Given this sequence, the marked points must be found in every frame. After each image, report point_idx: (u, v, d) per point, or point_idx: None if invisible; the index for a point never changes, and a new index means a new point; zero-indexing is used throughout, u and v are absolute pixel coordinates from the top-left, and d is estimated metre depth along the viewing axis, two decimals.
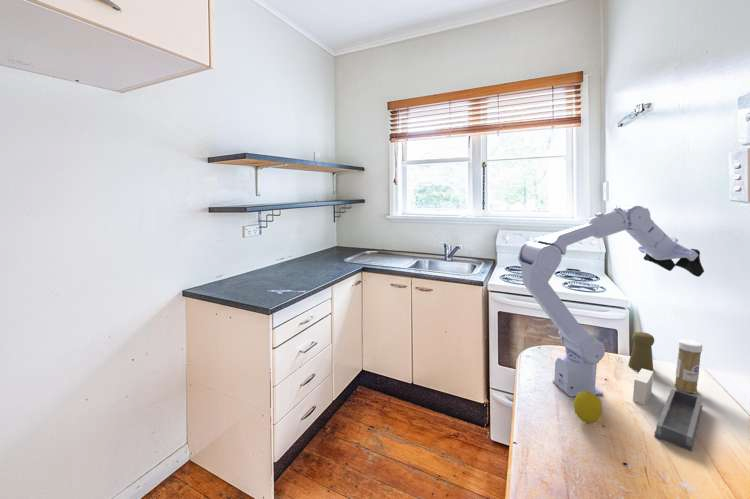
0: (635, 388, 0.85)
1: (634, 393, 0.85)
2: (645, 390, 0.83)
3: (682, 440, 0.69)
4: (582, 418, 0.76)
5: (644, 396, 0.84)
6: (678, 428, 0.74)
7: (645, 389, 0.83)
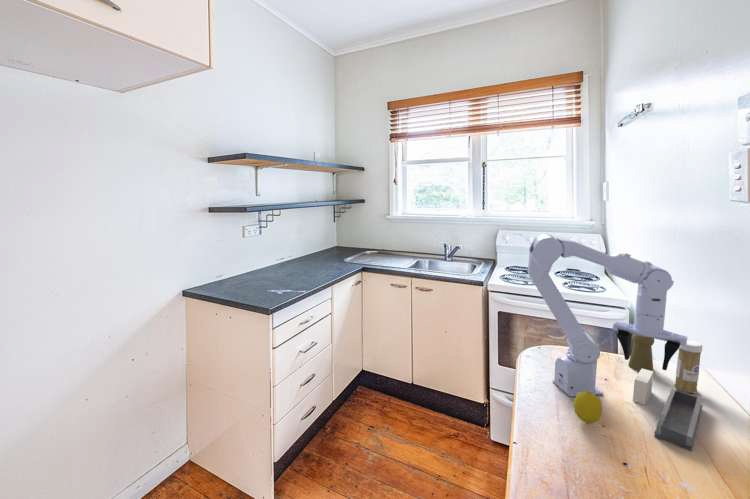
0: (635, 388, 0.85)
1: (634, 393, 0.85)
2: (645, 390, 0.83)
3: (682, 440, 0.69)
4: (582, 418, 0.76)
5: (644, 396, 0.84)
6: (678, 428, 0.74)
7: (645, 389, 0.83)
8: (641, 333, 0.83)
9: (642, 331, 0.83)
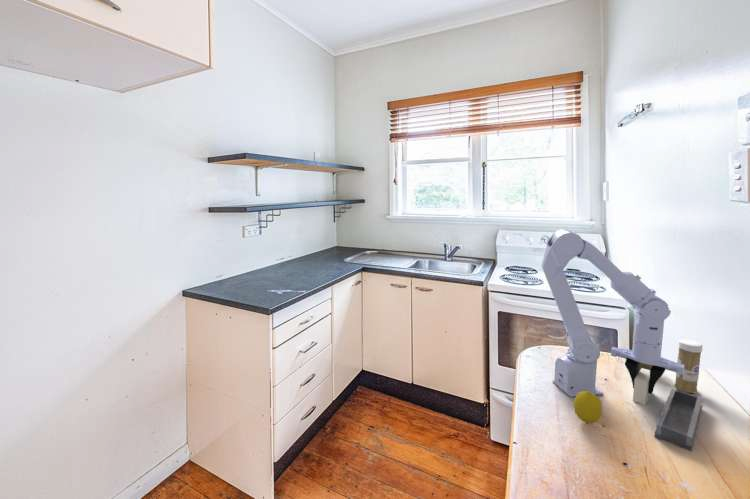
0: (635, 388, 0.85)
1: (634, 393, 0.85)
2: (645, 390, 0.83)
3: (682, 440, 0.69)
4: (582, 418, 0.76)
5: (644, 396, 0.84)
6: (678, 428, 0.74)
7: (645, 389, 0.83)
8: (639, 360, 0.84)
9: (640, 358, 0.84)
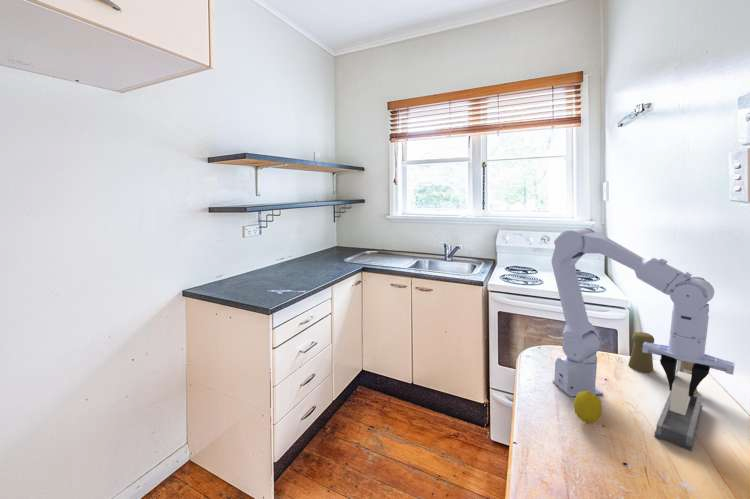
0: (673, 395, 0.72)
1: (671, 401, 0.72)
2: (685, 398, 0.70)
3: (682, 440, 0.69)
4: (582, 418, 0.76)
5: (684, 405, 0.70)
6: (678, 428, 0.74)
7: (685, 396, 0.70)
8: (678, 357, 0.71)
9: (679, 355, 0.71)
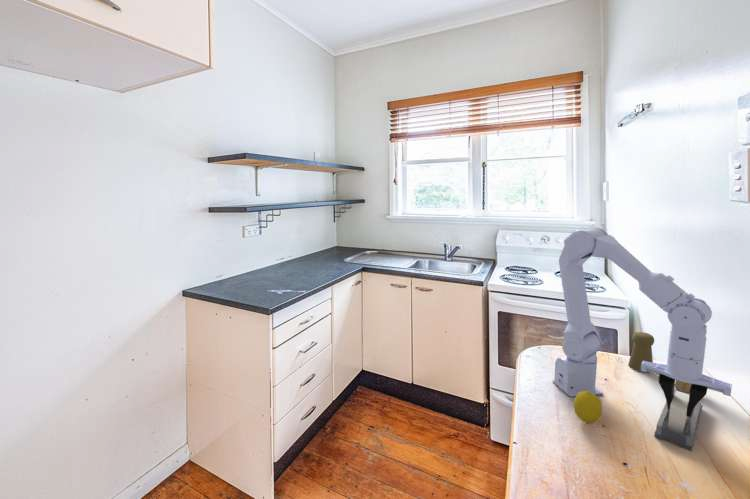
0: (671, 415, 0.72)
1: (669, 421, 0.73)
2: (683, 418, 0.71)
3: (682, 440, 0.69)
4: (582, 418, 0.76)
5: (682, 425, 0.71)
6: None
7: (683, 417, 0.71)
8: (676, 378, 0.72)
9: (677, 376, 0.72)
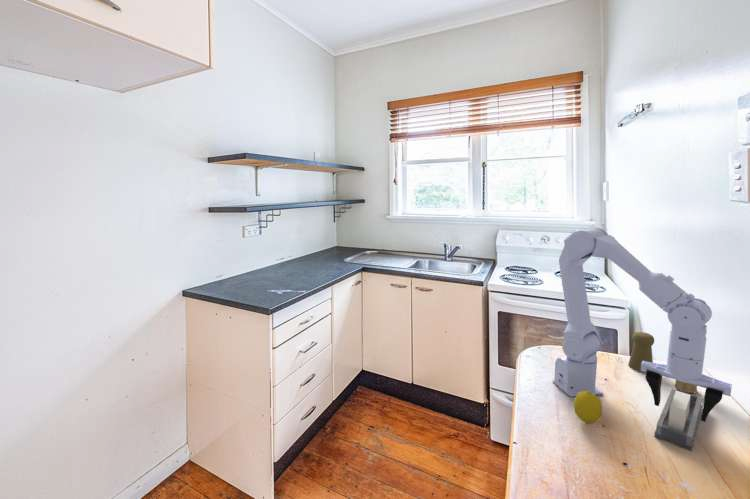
0: (671, 415, 0.72)
1: (669, 421, 0.73)
2: (683, 418, 0.71)
3: (682, 440, 0.69)
4: (582, 418, 0.76)
5: (682, 425, 0.71)
6: None
7: (683, 417, 0.71)
8: (676, 378, 0.72)
9: (677, 376, 0.72)
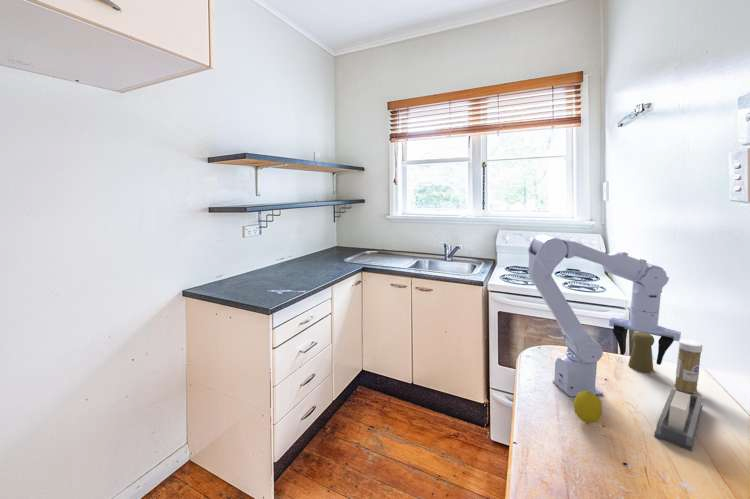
0: (671, 415, 0.72)
1: (669, 421, 0.73)
2: (683, 418, 0.71)
3: (682, 440, 0.69)
4: (582, 418, 0.76)
5: (682, 425, 0.71)
6: None
7: (683, 417, 0.71)
8: (636, 328, 0.86)
9: (637, 326, 0.86)
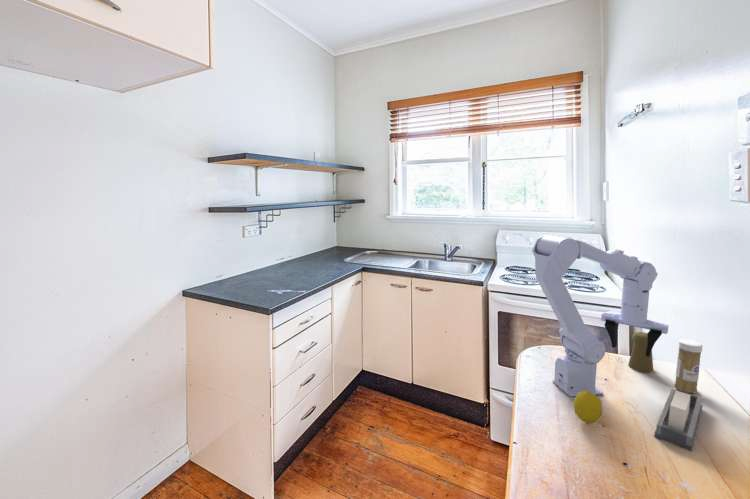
0: (671, 415, 0.72)
1: (669, 421, 0.73)
2: (683, 418, 0.71)
3: (682, 440, 0.69)
4: (582, 418, 0.76)
5: (682, 425, 0.71)
6: None
7: (683, 417, 0.71)
8: (626, 322, 0.90)
9: (627, 320, 0.90)
